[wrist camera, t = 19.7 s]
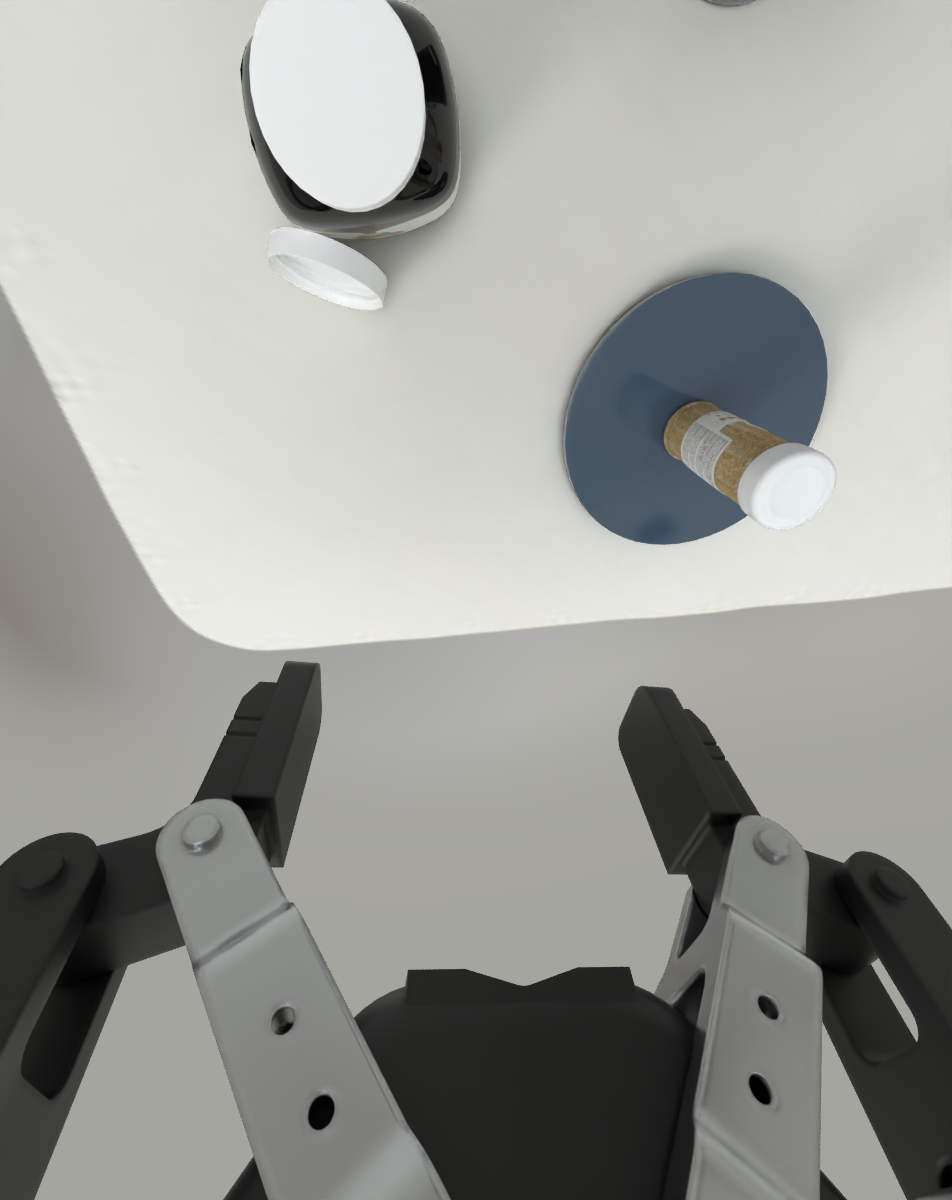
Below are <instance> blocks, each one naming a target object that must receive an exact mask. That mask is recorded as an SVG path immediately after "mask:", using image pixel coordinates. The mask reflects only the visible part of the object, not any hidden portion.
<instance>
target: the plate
mask: <svg viewBox="0 0 952 1200" xmlns="http://www.w3.org/2000/svg"><path fill="white" fill-rule="evenodd" d="M826 388H827V358H826V353H825V348H824V343H823V339H822V337H821V334H820V331H819V329H818V326H817V324H816V322H815V321H814V319H813V317H812V316H811V314H810V312H809V310H808V309H807V308H806V307H805V306H804V305H803V304H802V302H801V301H800V300H799V299H798V298H797V297H796V296H794V295H793V294H792V293H791V292H789V291H788V290H787V289H785V288H784V287H782V286H780V285H778V284H776V283H774V282H772V281H770V280H768V279H765V278H761V277H758V276H754V275H750V274H741V273H716V274H706V275H701V276H696V277H692V278H688V279H685V280H682V281H679V282H677V283H674V284H671V285H669V286H667V287H665V288H663V289H661V290H659V291H657V292H655V293H653V294H652V295H650V296H648V297H647V298H646V299H644V300H643V301H641V302H640V303H638V304H637V305H635V306H634V307H633V308H631V309H630V310H629V311H628V312H627V313H626V314H625V315H623V316H622V317H621V318H620V319H619V320H618V321H617V322H616V323H615V324H614V325H613V326H612V327H611V328H610V329H609V331H608V332H607V333H606V334H605V335H604V336H603V337H602V338H601V340H600V341H599V343H598V344H597V345H596V347H595V348H594V350H593V351H592V352H591V354H590V355H589V357H588V359H587V361H586V362H585V364H584V366H583V368H582V369H581V371H580V373H579V375H578V378H577V380H576V382H575V385H574V387H573V389H572V393H571V396H570V399H569V403H568V406H567V410H566V416H565V421H564V430H563V451H564V461H565V465H566V470H567V474H568V477H569V480H570V482H571V485H572V488H573V489H574V491H575V493H576V495H577V497H578V498H579V500H580V502H581V503H582V505H583V506H584V507H585V509H586V510H587V511H588V512H589V514H590V515H591V516H592V517H593V518H594V519H595V520H596V521H597V522H599V523H600V524H601V525H602V526H604V527H605V528H607V529H608V530H610V531H611V532H613V533H615V534H617V535H619V536H621V537H624V538H627V539H630V540H633V541H636V542H642V543H648V544H663V545H665V544H678V543H684V542H689V541H694V540H697V539H700V538H704V537H707V536H710V535H712V534H715V533H717V532H719V531H722V530H724V529H726V528H728V527H729V526H731V525H733V524H735V523H737V522H738V521H740V520H741V519H743V518H745V517H746V516H748V515H747V514H745V513H744V511H743V510H742V509H741V507H740V505H738V504H737V503H736V502H735V501H733V500H732V499H731V498H729V497H728V496H726V495H724V494H722V493H721V492H720V491H718V490H717V489H716V488H714V487H713V486H712V485H710V484H709V483H707V482H706V481H705V480H704V479H702V478H701V477H700V476H698V475H697V474H696V473H695V472H693V471H692V470H691V469H690V468H688V467H687V466H686V465H685V464H684V463H683V462H682V461H681V460H678V459H676V458H674V457H672V456H671V455H670V454H669V453H668V451H667V450H666V448H665V445H664V438H663V437H664V431H665V428H666V426H667V423H668V421H669V419H670V418H671V417H672V415H673V414H674V413H675V412H676V411H677V410H679V409H680V408H681V407H683V406H684V405H687V404H689V403H691V402H696V401H705V402H709V403H712V404H713V405H715V406H716V407H717V408H718V409H720V410H722V411H724V412H728V413H731V414H733V415H735V416H737V417H739V418H741V419H743V420H746V421H748V422H750V423H752V424H754V425H756V426H758V427H760V428H762V429H764V430H766V431H768V432H769V433H771V434H773V435H775V436H778V437H779V438H781V439H784V440H785V441H788V442H790V443H799V444H803V445H806V446H809V444H810V442H811V440H812V438H813V436H814V433H815V431H816V429H817V426H818V423H819V420H820V417H821V414H822V410H823V406H824V401H825V396H826Z"/></svg>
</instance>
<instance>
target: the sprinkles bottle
mask: <svg viewBox="0 0 952 1200" xmlns="http://www.w3.org/2000/svg"><path fill="white" fill-rule="evenodd" d="M663 438H664V445H665V448H666V450H667V451H668V453H669V454H670V455H671V456H672V457H674V458H676V459H678V460H681V461H682V462H683V463H684V464H685V465H686V466H687V467H688V468H690V469H691V470H692V471H693V472H695V473H696V474H697V475H698V476H700V477H701V478H702V479H704V480H705V481H706V482H707V483H709V484H710V485H712V486H713V487H714V488H716V489H717V490H718V491H720V492H721V493H722V494H724V495H726V496H728V497H729V498H731V499H732V500H733V501H735V502H736V503H737V504H738V505H740V507H741V509H742V510H743V511H744V513H745V514H747V515H748V516H749V517H750V518H752V519H753V520H755V521H756V522H758V523H759V524H761V525H762V526H764V527H766V528H770V529H775V530H783V529H789V528H793V527H796V526H799V525H801V524H803V523H805V522H806V521H808V520H810V519H811V518H812V517H814V516H815V515H816V514H817V513H818V512H819V511H821V510H822V508H823V507H824V506H825V505H826V503H827V502H828V501H829V499H830V497H831V495H832V493H833V491H834V488H835V485H836V470H835V467H834V464H833V463H832V461H831V460H830V459H829V458H828V457H827V456H826V455H825V454H823V453H821V452H819V451H817V450H815V449H813V448H810V447H808V446H806V445H803V444H799V443H790V442H788V441H785V440H784V439H781V438H779V437H778V436H775V435H773V434H771V433H769V432H768V431H766V430H764V429H762V428H760V427H758V426H756V425H754V424H752V423H750V422H748V421H746V420H743V419H741V418H739V417H737V416H735V415H733V414H731V413H728V412H724V411H722V410H720V409H718V408H717V407H716V406H715V405H713V404H712V403H709V402H705V401H696V402H691V403H689V404H687V405H684V406H683V407H681V408H680V409H679V410H677V411H676V412H675V413H674V414H673V415H672V417H671V418H670V419H669V421H668V423H667V426H666V428H665V431H664V437H663Z"/></svg>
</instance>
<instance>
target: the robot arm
mask: <svg viewBox="0 0 952 1200" xmlns="http://www.w3.org/2000/svg"><path fill="white" fill-rule="evenodd" d="M707 1H709V2H711V3H714V4H718V5H725V6H735V5H742V4H746V3H749V2H752V1H755V0H707ZM320 674H321V673H320V664H319V663H308V662H295V661H286V662H285V664H284V666H283V669H282V671H281V674H280V676H279V679H278V681H277V683H274V682H259V683H258V684H257V685H256V686H255V687H253V688H252V689H251V690H250V691H249V692H248V693H247V694H246V695H245V696H244V697H243V698H242V700H241V702H240V704H239V706H238V708H237V710H236V712H235V715H234V719H233V720H232V721H231V723H230V725H229V727H228V729H227V733H226V736H224V738H223V740H222V742H221V744H220V747H219V748H218V751H217V753H216V755H215V757H214V759H213V761H212V763H211V765H210V768H209V770H208V772H207V774H206V776H205V778H204V780H203V782H202V784H201V787H200V789H199V791H198V793H197V795H196V797H195V799H194V800H193V802H192V803H191V804H190V805H189V806H187V807H185V808H184V809H182V810H181V811H179V812H178V813H176V814H175V815H174V816H173V817H172V818H171V819H170V820H169V821H168V822H167V824H165V826H163V827H161V828H159V829H156V830H154V831H152V832H149V833H146V834H143V835H139V836H135V837H131V838H127V839H123V840H119V841H115V842H111V843H107V844H103V845H100V846H96V844H95V843H94V841H93V840H92V839H90V838H89V837H88V836H85V835H83V834H79V833H69V832H68V833H59V834H54V835H50V836H47V837H44V838H41V839H39V840H37V841H35V842H32V843H30V844H29V845H27V846H25V847H23V848H22V849H20V850H19V851H17V852H16V853H14V854H13V855H12V856H11V857H9V858H8V859H7V860H6V861H5V862H4V863H3V864H2V865H1V866H0V1200H34V1199H35V1196H36V1194H37V1191H38V1189H39V1186H40V1183H41V1181H42V1179H43V1176H44V1173H45V1171H46V1169H47V1166H48V1163H49V1161H50V1158H51V1156H52V1154H53V1151H54V1148H55V1146H56V1144H57V1141H58V1138H59V1136H60V1133H61V1131H62V1129H63V1126H64V1123H65V1121H66V1118H67V1116H68V1113H69V1111H70V1108H71V1106H72V1103H73V1101H74V1098H75V1095H76V1093H77V1091H78V1088H79V1086H80V1083H81V1081H82V1078H83V1076H84V1073H85V1071H86V1068H87V1066H88V1063H89V1061H90V1058H91V1056H92V1053H93V1051H94V1048H95V1046H96V1043H97V1041H98V1038H99V1036H100V1033H101V1031H102V1028H103V1026H104V1023H105V1021H106V1018H107V1016H108V1013H109V1011H110V1008H111V1006H112V1003H113V1001H114V998H115V996H116V993H117V991H118V988H119V986H120V983H121V981H122V978H123V976H124V973H125V971H126V968H127V966H128V965H130V964H133V963H135V962H138V961H141V960H144V959H147V958H150V957H153V956H156V955H158V954H161V953H164V952H167V951H170V950H173V949H176V948H179V947H182V946H185V945H186V948H187V951H188V954H189V956H190V960H191V963H192V967H193V972H194V975H195V978H196V981H197V984H198V988H199V991H200V994H201V997H202V1000H203V1003H204V1006H205V1009H206V1012H207V1015H208V1018H209V1021H210V1024H211V1027H212V1030H213V1033H214V1036H215V1039H216V1042H217V1046H218V1049H219V1051H220V1055H221V1058H222V1061H223V1064H224V1067H225V1070H226V1073H227V1076H228V1079H229V1082H230V1085H231V1088H232V1091H233V1093H234V1097H235V1100H236V1103H237V1106H238V1109H239V1113H240V1116H241V1118H242V1121H243V1125H244V1128H245V1131H246V1134H247V1137H248V1140H249V1143H250V1146H251V1149H252V1152H253V1155H254V1156H253V1158H252V1159H251V1161H250V1162H249V1163H248V1165H247V1166H246V1168H245V1169H244V1171H243V1172H242V1173H241V1175H240V1177H239V1178H238V1179H237V1181H236V1182H235V1184H234V1185H233V1186H232V1188H231V1189H230V1191H229V1192H228V1194H227V1195H226V1196H225V1198H224V1199H223V1200H847V1199H846V1198H845V1197H844V1196H843V1195H842V1193H841V1192H840V1191H839V1190H838V1189H837V1188H836V1187H835V1186H834V1184H833V1183H832V1182H831V1181H830V1180H829V1179H828V1178H827V1177H826V1176H825V1174H824V1173H823V1172H822V1171H821V1170H820V1129H821V1063H822V1061H821V1060H822V1058H821V1057H822V1022H823V1024H824V1026H825V1028H826V1030H827V1032H828V1034H829V1036H830V1038H831V1041H832V1043H833V1045H834V1047H835V1049H836V1051H837V1053H838V1055H839V1057H840V1059H841V1062H842V1064H843V1066H844V1068H845V1070H846V1072H847V1074H848V1076H849V1079H850V1081H851V1083H852V1085H853V1087H854V1089H855V1091H856V1093H857V1095H858V1097H859V1100H860V1102H861V1104H862V1106H863V1108H864V1110H865V1112H866V1114H867V1117H868V1119H869V1121H870V1123H871V1125H872V1127H873V1129H874V1131H875V1133H876V1135H877V1138H878V1140H879V1142H880V1144H881V1146H882V1148H883V1150H884V1152H885V1154H886V1156H887V1159H888V1161H889V1163H890V1165H891V1167H892V1169H893V1171H894V1173H895V1175H896V1178H897V1180H898V1182H899V1184H900V1186H901V1188H902V1190H903V1192H904V1194H905V1196H906V1199H907V1200H952V929H951V928H950V926H949V925H948V924H947V923H946V921H945V920H944V918H943V917H942V916H941V914H940V913H939V911H938V910H937V909H936V908H935V906H934V905H933V903H932V902H931V901H930V899H929V898H928V897H927V895H926V894H925V893H924V891H923V890H922V889H921V888H920V886H919V885H918V884H917V883H916V881H915V880H914V879H913V878H912V877H911V876H910V875H909V874H908V873H906V872H905V871H904V870H903V869H902V868H900V867H899V866H898V865H896V864H895V863H893V862H892V861H890V860H888V859H886V858H884V857H882V856H880V855H878V854H875V853H872V852H866V851H860V852H856V853H854V854H853V855H852V856H851V857H849V858H848V860H846V861H845V862H844V863H842V862H839V861H836V860H833V859H830V858H827V857H824V856H821V855H818V854H815V853H812V852H809V851H806V850H804V849H803V848H802V846H801V845H800V844H799V842H798V841H797V839H796V838H795V837H794V836H793V835H792V834H791V833H790V832H788V831H787V830H786V829H784V828H783V827H782V826H780V825H779V824H777V823H776V822H774V821H772V820H770V819H768V818H765V817H761V816H760V814H759V812H758V811H757V809H756V807H755V806H754V804H753V803H752V801H751V799H750V797H749V796H748V794H747V793H746V791H745V789H744V787H743V786H742V784H741V783H740V781H739V779H738V778H737V776H736V774H735V773H734V771H733V770H732V768H731V766H730V765H729V763H728V761H725V756H724V754H723V753H722V751H721V749H720V748H719V746H717V745H716V741H715V739H714V738H713V736H712V734H711V733H710V731H709V729H708V728H707V726H706V725H705V724H704V723H703V722H702V721H701V720H700V719H699V718H698V717H697V716H696V715H695V714H694V713H693V712H692V711H691V710H689V709H683V707H682V705H681V704H680V702H679V700H678V698H677V697H676V695H675V693H674V692H673V690H671V689H670V688H663V687H648V686H640V687H638V688H637V690H636V691H635V693H634V696H633V698H632V700H631V703H630V705H629V707H628V709H627V712H626V714H625V716H624V718H623V721H622V723H621V726H620V729H619V737H618V740H619V747H620V751H621V753H622V756H623V759H624V761H625V764H626V766H627V769H628V772H629V774H630V777H631V779H632V782H633V785H634V787H635V789H636V792H637V795H638V798H639V800H640V803H641V805H642V808H643V810H644V813H645V816H646V818H647V821H648V823H649V826H650V829H651V831H652V834H653V836H654V839H655V841H656V844H657V847H658V849H659V852H660V854H661V857H662V860H663V862H664V865H665V867H666V870H667V873H668V874H686V875H688V877H689V879H690V882H691V884H692V885H691V886H690V888H689V889H688V891H687V893H686V897H685V901H684V904H683V908H682V912H681V916H680V919H679V923H678V927H677V931H676V934H675V938H674V942H673V945H672V949H671V953H670V957H669V960H668V964H667V967H666V969H665V972H664V974H663V977H662V978H661V980H660V982H659V984H658V986H657V989H656V991H655V993H654V994H653V993H651V992H649V991H646V990H644V989H642V988H640V987H638V986H635V985H634V982H633V979H632V974H631V971H630V968H629V967H582V968H581V967H579V968H575V969H572V970H570V971H567V972H564V973H561V974H558V975H556V976H553V977H550V978H548V979H545V980H542V981H539V982H537V983H534V984H532V985H528V986H520V985H516V984H513V983H509V982H506V981H503V980H499V979H496V978H493V977H489V976H486V975H483V974H480V973H476V972H473V971H470V970H466V969H437V970H436V969H434V970H408V973H407V979H406V985H405V987H403V988H400V989H397V990H394V991H392V992H390V993H388V994H386V995H384V996H382V997H380V998H379V999H377V1000H375V1001H374V1002H372V1003H371V1004H370V1005H368V1006H367V1007H365V1008H364V1009H363V1010H362V1011H361V1012H360V1013H359V1014H357V1015H356V1016H355V1017H354V1018H353V1016H352V1014H351V1012H350V1010H349V1008H348V1006H347V1004H346V1002H345V1000H344V998H343V996H342V994H341V992H340V990H339V988H338V986H337V984H336V982H335V980H334V978H333V976H332V974H331V972H330V970H329V968H328V966H327V964H326V962H325V960H324V958H323V956H322V954H321V952H320V950H319V948H318V946H317V945H316V942H315V940H314V938H313V937H312V935H311V933H310V930H309V928H308V927H307V924H306V923H305V921H304V919H303V917H302V915H301V913H300V912H299V910H298V908H297V907H296V906H295V905H294V903H290V902H289V901H288V900H287V898H286V896H285V895H284V893H283V891H282V889H281V887H280V885H279V883H278V881H277V879H276V877H275V875H274V873H273V871H272V869H271V867H283V866H284V863H285V859H286V855H287V851H288V848H289V844H290V840H291V836H292V833H293V828H294V825H295V821H296V817H297V814H298V810H299V806H300V802H301V798H302V795H303V791H304V787H305V784H306V780H307V776H308V772H309V769H310V765H311V761H312V757H313V753H314V750H315V746H316V742H317V738H318V735H319V730H320V724H321V715H322V701H321V675H320ZM878 958H879V959H880V961H881V962H882V964H883V966H884V967H885V969H886V971H887V972H888V974H889V976H890V977H891V979H892V981H893V982H894V984H895V986H896V987H897V989H898V991H899V992H900V994H901V996H902V997H903V999H904V1000H905V1002H906V1004H907V1005H908V1007H909V1009H910V1010H911V1012H912V1014H913V1016H914V1018H915V1021H916V1024H917V1027H918V1035H919V1036H918V1041H917V1042H916V1040H915V1039H914V1037H913V1035H912V1034H911V1032H910V1030H909V1029H908V1027H907V1025H906V1024H905V1022H904V1020H903V1018H902V1017H901V1015H900V1013H899V1012H898V1010H897V1008H896V1006H895V1005H894V1003H893V1001H892V1000H891V998H890V996H889V994H888V993H887V991H886V989H885V988H884V986H883V984H882V983H881V981H880V979H879V977H878V976H877V974H876V972H875V971H874V969H873V967H872V965H871V963H873V962H874V961H875V960H877V959H878Z"/></svg>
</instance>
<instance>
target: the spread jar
mask: <svg viewBox="0 0 952 1200" xmlns="http://www.w3.org/2000/svg"><path fill="white" fill-rule="evenodd" d="M240 71H241V81H242V91H243V100H244V108H245V114H246V118H247V122H248V126H249V131H250V136H251V143H252V146H253V148H254V151H255V154H256V156H257V159H258V162H259V164H260V167H261V170H262V172H263V175H264V177H265V180H266V182H267V184H268V186H269V189H270V191H271V193H272V195H273V197H274V199H275V201H276V203H277V204H278V206H279V208H280V209H281V211H282V212H283V213H284V214H285V216H286V217H287V218H288V219H289V220H290V221H291V222H292V223H294V224H295V225H296V226H297V227H299V228H302V229H299V228H294V227H278V228H276V229H273V230H272V231H271V233H270V238H269V244H268V251H267V257H266V259H267V263H268V264H269V266H270V267H271V268H272V269H273V270H274V271H275V272H276V273H277V274H278V275H280V276H281V277H282V278H284V279H285V280H287V281H288V282H290V283H292V284H293V285H295V286H297V287H299V288H301V289H303V290H304V291H306V292H308V293H311V294H313V295H315V296H317V297H320V298H322V299H325V300H327V301H330V302H333V303H336V304H339V305H342V306H346V307H350V308H354V309H359V310H368V311H373V310H379V309H381V308H382V306H383V303H384V299H385V294H386V289H387V284H388V283H387V278H386V276H385V274H384V273H383V272H382V270H381V269H380V268H379V267H378V266H377V265H375V264H374V263H373V262H372V261H370V260H369V259H368V258H366V257H365V256H364V255H362V254H360V253H359V252H357V251H355V250H354V249H352V248H350V247H348V246H346V245H344V244H342V243H340V242H338V241H336V240H333V239H331V238H339V239H378V238H386V237H391V236H395V235H399V234H402V233H405V232H408V231H411V230H414V229H416V228H419V227H421V226H423V225H426V224H428V223H430V222H432V221H434V220H436V219H437V218H439V217H440V216H441V215H443V214H444V213H445V212H446V211H447V210H448V209H449V208H450V207H451V205H452V203H453V202H454V200H455V197H456V194H457V191H458V186H459V180H460V172H461V132H460V119H459V111H458V103H457V97H456V92H455V87H454V82H453V78H452V74H451V70H450V66H449V62H448V59H447V56H446V52H445V49H444V47H443V44H442V42H441V39H440V37H439V35H438V33H437V31H436V30H435V28H434V26H433V25H432V24H431V23H430V22H429V21H428V19H427V18H426V17H425V16H424V15H423V14H422V13H420V12H419V11H417V10H416V9H415V8H413V7H411V6H409V5H407V4H404V3H402V2H398V1H395V0H267V1H266V2H265V5H264V7H263V9H262V11H261V13H260V15H259V17H258V19H257V22H256V26H255V30H254V34H253V36H252V37H251V39H250V40H249V42H248V44H247V45H246V47H245V51H244V54H243V57H242V63H241V69H240ZM329 237H331V238H329Z"/></svg>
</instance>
